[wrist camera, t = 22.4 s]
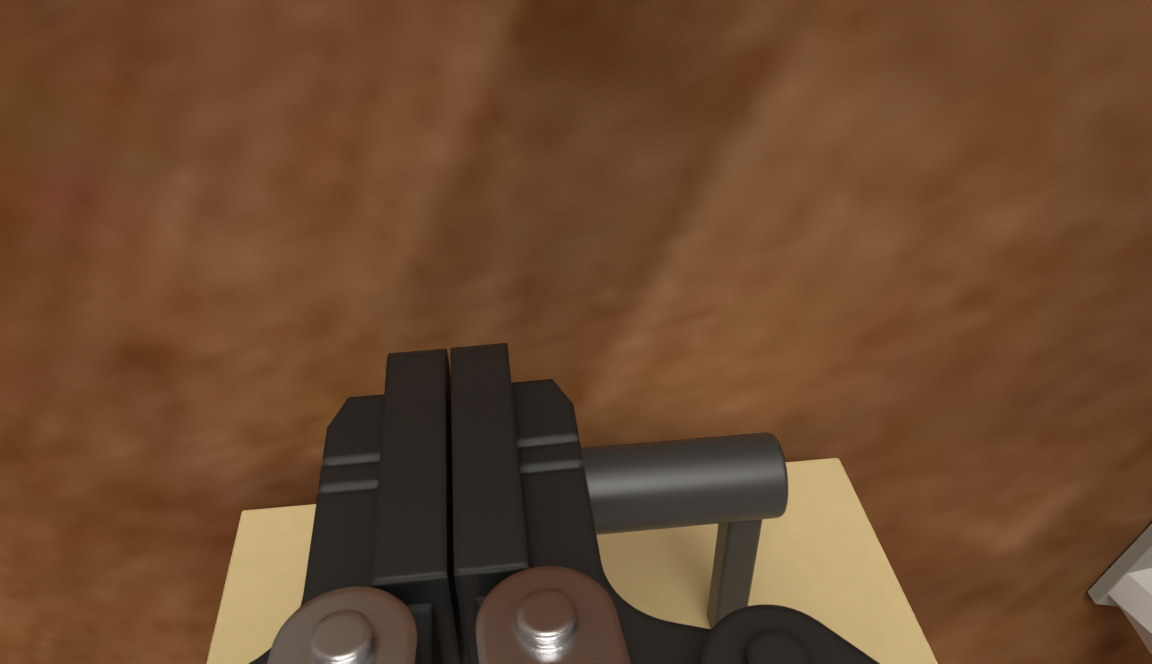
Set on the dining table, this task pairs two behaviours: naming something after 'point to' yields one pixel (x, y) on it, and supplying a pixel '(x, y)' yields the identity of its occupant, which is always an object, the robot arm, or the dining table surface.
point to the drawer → (658, 547)
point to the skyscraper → (1130, 586)
